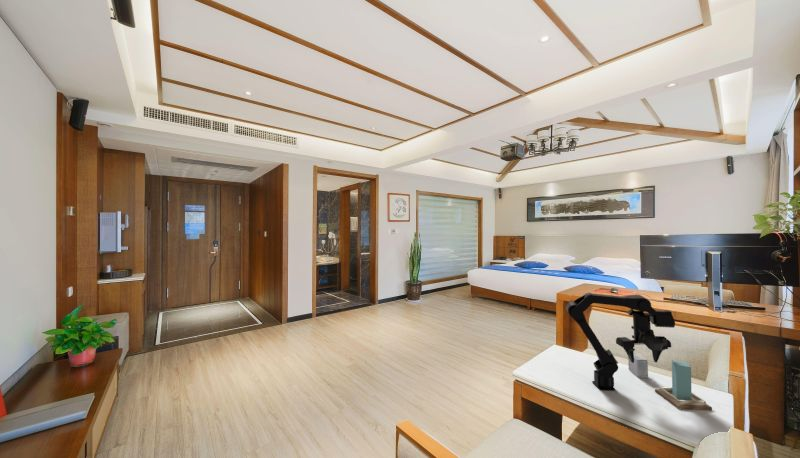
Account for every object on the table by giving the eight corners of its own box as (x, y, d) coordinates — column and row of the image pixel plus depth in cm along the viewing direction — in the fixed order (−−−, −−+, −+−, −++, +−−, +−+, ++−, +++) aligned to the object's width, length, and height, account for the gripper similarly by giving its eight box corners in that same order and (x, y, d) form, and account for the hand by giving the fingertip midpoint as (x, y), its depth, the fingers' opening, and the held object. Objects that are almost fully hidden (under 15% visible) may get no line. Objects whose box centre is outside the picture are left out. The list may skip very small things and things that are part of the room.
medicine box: (648, 378, 137) (648, 360, 137) (637, 377, 138) (637, 359, 138) (638, 370, 145) (638, 352, 145) (628, 369, 146) (627, 352, 146)
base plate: (677, 408, 115) (677, 402, 115) (654, 391, 127) (654, 385, 127) (712, 409, 114) (711, 403, 114) (685, 392, 126) (685, 386, 126)
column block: (691, 402, 118) (691, 367, 117) (676, 399, 119) (676, 365, 119) (686, 396, 122) (686, 362, 121) (672, 393, 124) (671, 360, 123)
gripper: (631, 333, 119) (634, 371, 119) (681, 331, 117) (684, 371, 118) (614, 324, 130) (616, 359, 130) (659, 322, 129) (661, 358, 129)
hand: (643, 362), depth 126 cm, fingers open, 9 cm apart
